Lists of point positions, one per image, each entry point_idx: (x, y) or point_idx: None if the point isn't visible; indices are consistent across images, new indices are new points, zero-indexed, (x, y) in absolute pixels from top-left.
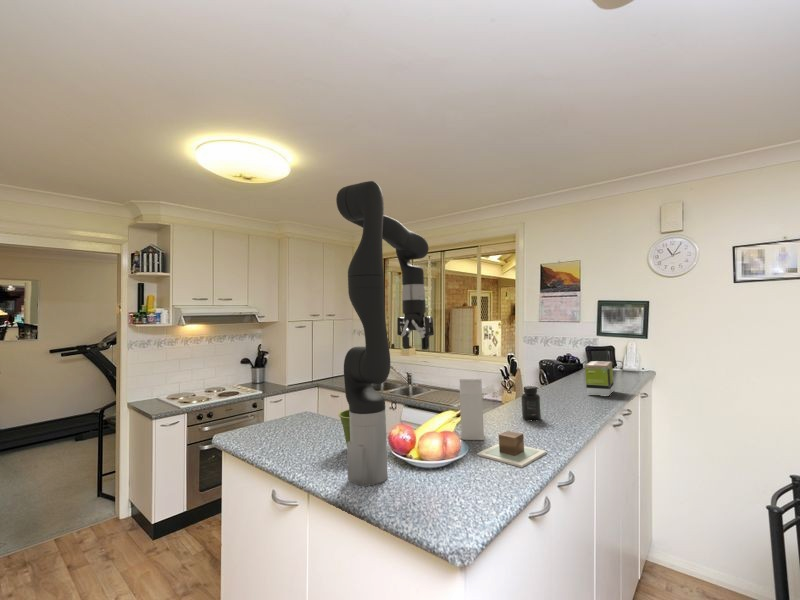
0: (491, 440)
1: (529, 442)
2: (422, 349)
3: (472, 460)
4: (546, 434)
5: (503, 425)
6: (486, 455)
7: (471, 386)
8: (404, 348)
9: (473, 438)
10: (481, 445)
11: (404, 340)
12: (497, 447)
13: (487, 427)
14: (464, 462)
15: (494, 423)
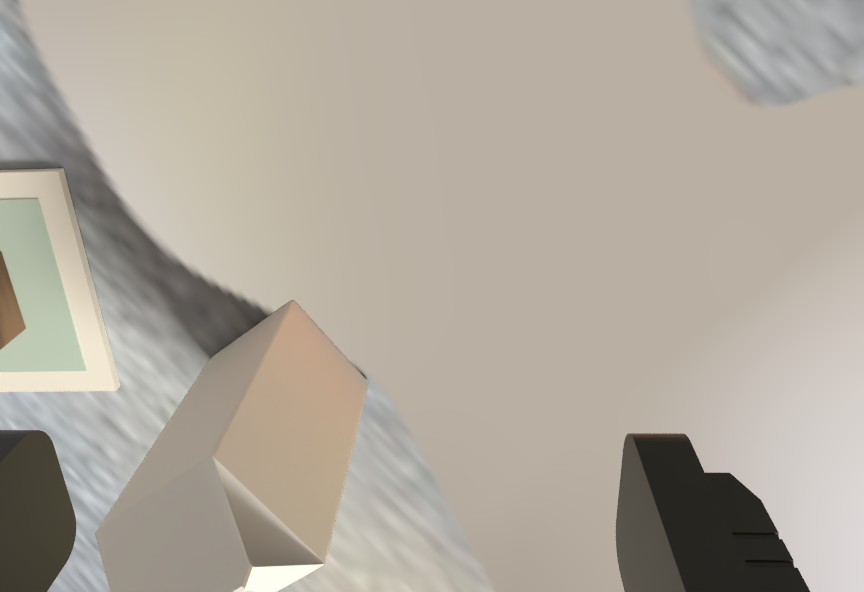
0: (189, 383)
1: (58, 459)
2: (34, 430)
3: (20, 91)
4: (94, 579)
5: (316, 585)
6: (4, 174)
7: (166, 564)
8: (651, 437)
9: (243, 335)
10: (164, 296)
11: (685, 589)
12: (59, 298)
13: (349, 524)
14: (20, 38)
15: (370, 587)
